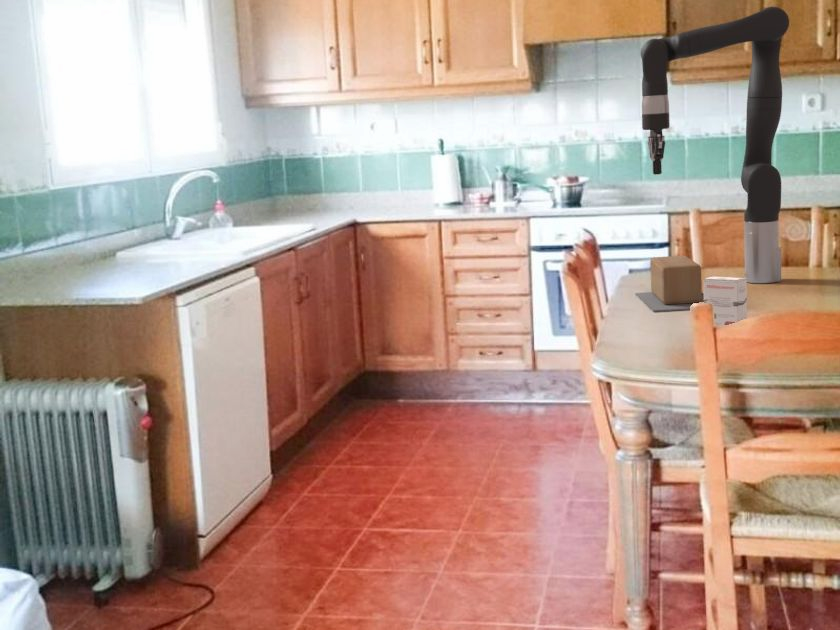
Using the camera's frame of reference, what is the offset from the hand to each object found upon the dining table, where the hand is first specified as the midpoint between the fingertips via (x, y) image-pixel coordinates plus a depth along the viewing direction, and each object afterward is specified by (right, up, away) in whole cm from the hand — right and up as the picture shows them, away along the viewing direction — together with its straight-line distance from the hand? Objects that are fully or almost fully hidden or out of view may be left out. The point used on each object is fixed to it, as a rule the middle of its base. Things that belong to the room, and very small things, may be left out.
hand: (657, 174), depth 300 cm
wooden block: (+1, -29, -10) cm, 30 cm away
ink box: (+2, -43, -59) cm, 73 cm away
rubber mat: (0, -36, -21) cm, 42 cm away
